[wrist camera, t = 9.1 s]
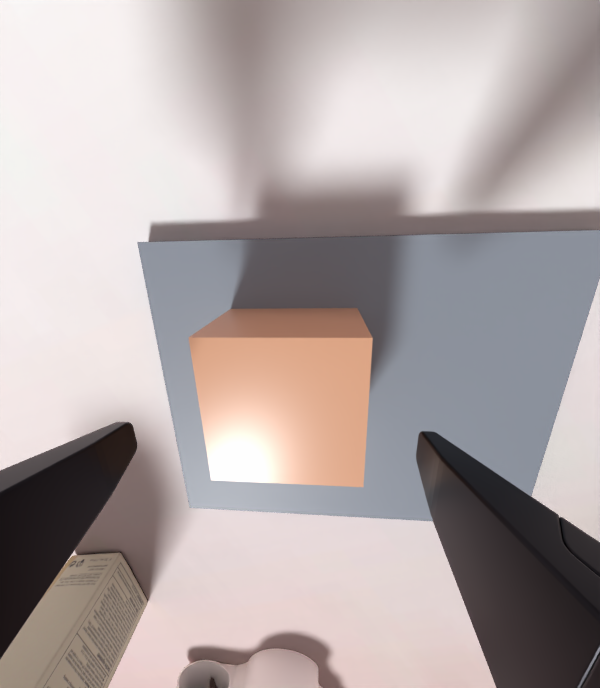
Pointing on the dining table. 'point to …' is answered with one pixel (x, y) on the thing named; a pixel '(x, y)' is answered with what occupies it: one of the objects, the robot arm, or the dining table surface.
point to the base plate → (393, 348)
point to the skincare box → (77, 627)
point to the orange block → (284, 395)
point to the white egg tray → (254, 672)
